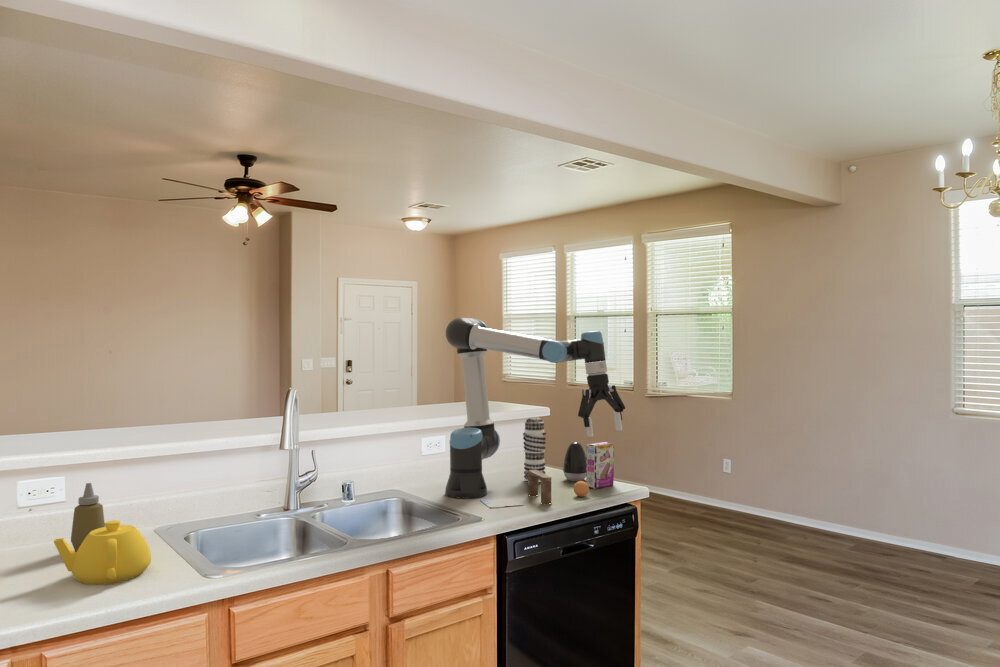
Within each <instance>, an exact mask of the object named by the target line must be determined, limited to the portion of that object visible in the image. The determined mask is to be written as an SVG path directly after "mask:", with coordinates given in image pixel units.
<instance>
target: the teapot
mask: <svg viewBox="0 0 1000 667" xmlns="http://www.w3.org/2000/svg"><path fill="white" fill-rule="evenodd" d="M53 543H54V545H55V548H56V550H57V552H58V554H59V555H60V557H61V560H62V561H63V563H64V566H65V568H66V570H67V572H71V574H72V576H73V577H74V578H75V579H76V581H78V582H80V583H81V584H84V585H90V586H91V585H93V586H96V585H97V586H98V585H99V586H100V585H110V584H116V583H121V582H125V581H128V580H131V579H134V578H137V577H139V576H141V575H142V574H143V573H144V572H145V571H146V570H147V568H148V567H149V566H150V564H151V563H152V555H151V554H152V553H151V550H150V547H149V545H148V542H147V541H146V539H145V538H144V536H143V535H142V533H141V532H140V531H139V530H138V528H137V527H136V526H134V525H131V524H121V520H116V519H114V520H108V521H106V522H105V527H102V528H98V529H95V530H93V531H91V532H90V533H89V534H88V535H87V536H86V538H85V539H84V541H83V542H82V544H81V545H80V547H79V549H78V551H77V552H75V550H74V548H72V547H71V546H70V545H69V543H68V542H67V541H66V539H65V537H61V538H55V539H54V540H53Z"/></svg>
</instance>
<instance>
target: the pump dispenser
mask: <svg viewBox="0 0 1000 667" xmlns="http://www.w3.org/2000/svg"><path fill="white" fill-rule="evenodd" d="M586 466H587V453H586V451H585V449H584V447H583V445H582V444H581V443H580V442H577V441H573V442H571V443H570V444H569V445H568V447H567V448H566V452H565V454H564V459H563V464H562V472H563V475H564V477H565V478H566V479H567V480H568V481H570V482H578V481H583V480H586Z"/></svg>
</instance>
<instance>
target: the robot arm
mask: <svg viewBox="0 0 1000 667" xmlns="http://www.w3.org/2000/svg"><path fill="white" fill-rule="evenodd" d="M445 338H446V340H447V342H448V344H449V345H450V346H452V347H453V348H456V352H457V353H456V355H457V356H458V357H459V358H460V359H461V366H462V378H463V387H464V397H465V406H466V418H467V419H466V420H467V421H466V422H465V423H464V425H463V427H462V428H457V429H454V430H453V431H452V432H450V436H449V458H450V460H449V470H450V471H449V472H450V473H449V475H448V479H447V482H446V485H445V496H447V497H448V498H449V497H450V498H455V499H475V498H482V497H485V496H487V494H488V487H487V483H486V481H485V477H484V474H483V460H485V459H489V458H491V457H492V456H493V455H494V454H495V453H496V452H497V451H498V450H499V448H500V443H501V439H500V434H499V432H498V431H497V430H496V429H495V428H496V427H495V422H494V421H493V420H492V419H491V418H490V408H489V398H488V387H487V378H486V375H487V374H486V368H485V366H486V364H485V355H487V353H488V350H489V351H495V352H499V353H506V354H510V355H517V356H522V357H527V358H533V359H537V360H543V361H547V362H549V363H552V364H558V363H565V362H572V361H578V360H580V361H581V360H584V365H585V373H586V374H585V375H587V376H586V381H587V386H588V388H589V389H588V388H587V389H582V393H581V394H582V395H581V396H582V397H581V401H580V405H579V409H578V414H577V416H578V417H579V418H581V419H583V425H584V427H585V431H586V437H594V429H593V428H594V427H593V421H592V420H593V419H592V417H590V415H591V413H592V411H593V410H594V407H595V406H596V403H597V402H598V401H601V400H602V401H603V400H604V401H606V402H607V404H608V405H609V406H610V407H611V409H613V410H614V411H615V412H614V411H613V419H614V426H615V431H623V424H622V421H623V416H622V412H624V410H625V409H626V406H625V404H624V402H623V400H622V399H621V397H620V395H619V393H618V391H617V387H616V385H614V384H611V385H609V381H610V380H609V374H608V373H607V372H608V367H607V361H606V360H607V359H606V353H605V345H604V344H605V343H604V340H603V338H604V337H603V334H602V332H601V331H599V330H593V331H592V330H591V331H585V332H582V333H581V335H580V338H577V339H568V340H556V339H555V340H554V339H550V338H544V337H540V336H533V335H527V334H523V333H516V332H511V331H505V330H500V329H494V328H489V327H488V326H487V324H486V323H485V322H484V321H482V320H480V319H477V318H474V317H473V318H471V317H470V318H469V317H458V318H454V319H452V320H451V321H450V322H449V323H448V324H447V326H446V328H445Z"/></svg>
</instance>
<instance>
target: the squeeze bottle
mask: <svg viewBox="0 0 1000 667" xmlns="http://www.w3.org/2000/svg"><path fill="white" fill-rule="evenodd" d="M99 500H100V497H99V495H95V493H94V488H93V485H92V482H88V483H85V488H84V492H83V495H82V496H80V497H78V502H77V503H78V505H76V506H75V507H74V510H73V516H72V517H73V518H72V526H71V536H70V542H71V545H72V547H73V550H74V552H77V551H78V549H79V547H80V545H81V544H82V542H83V541H84V539H85V538H86V536H87V535H88V534H89V533H90V532H91V531H93V530H95V529H98V528H102V527H105V523H106V522H105V514H104V506H103V504H102V503H100V502H99Z"/></svg>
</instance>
